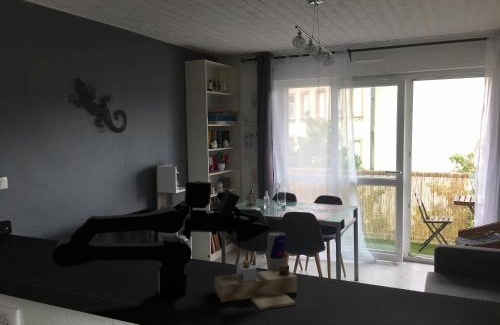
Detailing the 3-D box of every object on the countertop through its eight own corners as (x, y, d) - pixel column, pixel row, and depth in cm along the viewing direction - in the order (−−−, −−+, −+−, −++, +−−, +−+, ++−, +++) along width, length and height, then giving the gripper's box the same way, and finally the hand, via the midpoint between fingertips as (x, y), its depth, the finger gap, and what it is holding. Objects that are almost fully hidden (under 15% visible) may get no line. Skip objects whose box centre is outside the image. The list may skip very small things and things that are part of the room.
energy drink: (284, 278, 116) (284, 236, 116) (266, 277, 117) (266, 235, 117) (287, 272, 121) (286, 232, 121) (269, 271, 123) (269, 231, 122)
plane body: (221, 302, 99) (221, 277, 99) (214, 292, 106) (214, 269, 105) (296, 291, 106) (296, 268, 105) (285, 283, 112) (285, 261, 112)
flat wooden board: (259, 309, 94) (259, 307, 94) (251, 300, 100) (251, 298, 100) (295, 304, 97) (295, 302, 97) (285, 295, 103) (285, 293, 103)
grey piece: (243, 281, 101) (243, 265, 101) (236, 275, 107) (236, 259, 106) (256, 280, 103) (256, 263, 102) (249, 273, 108) (249, 257, 108)
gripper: (219, 198, 98) (280, 201, 103) (204, 184, 116) (256, 187, 120) (214, 243, 99) (274, 244, 104) (200, 223, 117) (252, 224, 122)
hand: (264, 223), depth 112 cm, fingers open, 9 cm apart
